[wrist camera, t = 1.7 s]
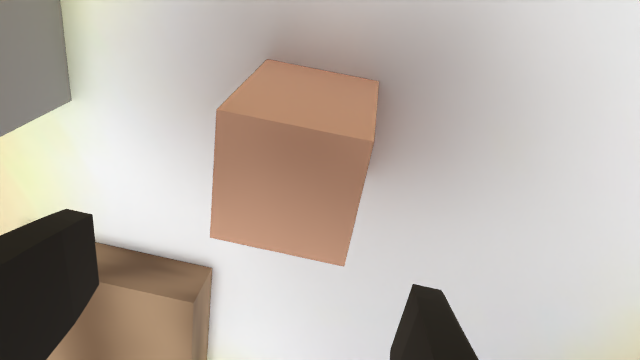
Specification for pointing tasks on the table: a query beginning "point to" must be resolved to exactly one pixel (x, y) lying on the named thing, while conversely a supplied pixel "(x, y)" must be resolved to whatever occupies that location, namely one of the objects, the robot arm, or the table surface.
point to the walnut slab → (142, 310)
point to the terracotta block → (293, 160)
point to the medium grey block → (31, 61)
